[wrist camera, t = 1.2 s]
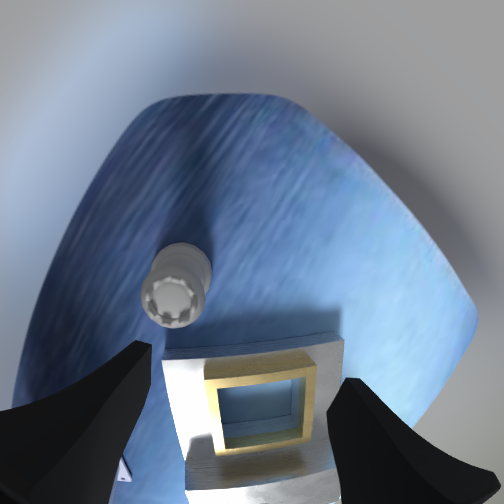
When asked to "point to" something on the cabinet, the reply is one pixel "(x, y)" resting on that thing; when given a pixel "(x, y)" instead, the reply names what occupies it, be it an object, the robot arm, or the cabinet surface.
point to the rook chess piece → (176, 285)
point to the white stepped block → (257, 421)
